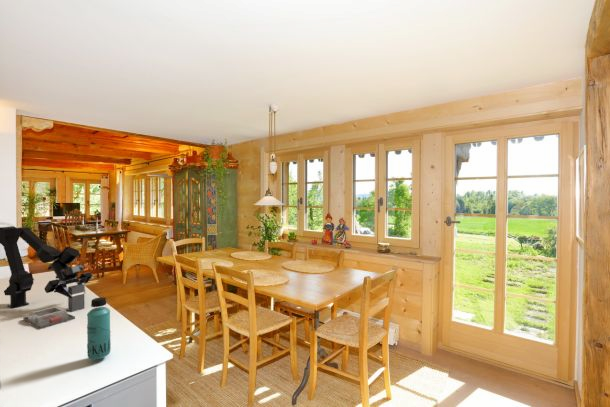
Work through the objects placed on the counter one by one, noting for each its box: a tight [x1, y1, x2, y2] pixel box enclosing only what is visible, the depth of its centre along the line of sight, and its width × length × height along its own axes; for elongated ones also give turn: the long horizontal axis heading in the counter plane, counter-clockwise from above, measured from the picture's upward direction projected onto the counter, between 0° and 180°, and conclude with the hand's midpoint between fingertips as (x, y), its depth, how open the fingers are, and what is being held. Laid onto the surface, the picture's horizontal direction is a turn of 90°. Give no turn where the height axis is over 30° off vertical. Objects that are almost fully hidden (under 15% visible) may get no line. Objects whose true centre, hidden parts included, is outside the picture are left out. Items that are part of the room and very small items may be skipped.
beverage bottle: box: [86, 296, 112, 360], centre depth 101 cm, size 6×7×20 cm
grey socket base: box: [22, 306, 76, 330], centre depth 134 cm, size 18×12×3 cm, turn 59°
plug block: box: [67, 284, 86, 313], centre depth 147 cm, size 4×5×11 cm
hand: (78, 295), depth 146 cm, fingers closed on plug block, 5 cm apart
